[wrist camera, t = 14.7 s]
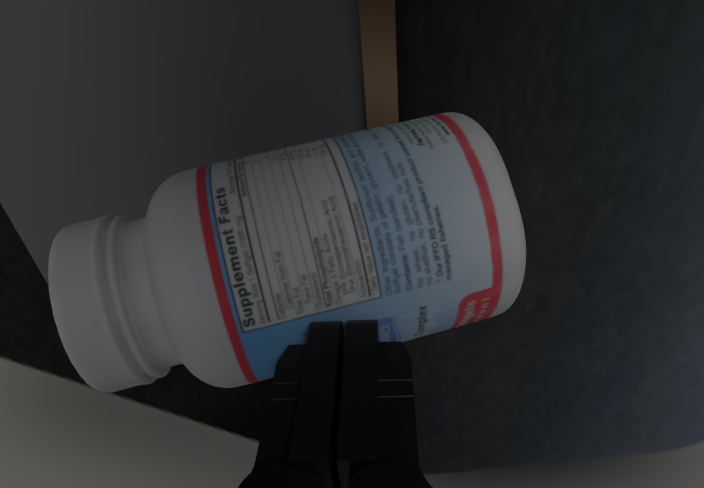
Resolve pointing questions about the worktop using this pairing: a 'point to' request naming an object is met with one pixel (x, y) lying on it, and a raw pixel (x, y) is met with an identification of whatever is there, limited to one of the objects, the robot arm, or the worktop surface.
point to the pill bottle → (292, 254)
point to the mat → (160, 97)
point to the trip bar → (379, 61)
